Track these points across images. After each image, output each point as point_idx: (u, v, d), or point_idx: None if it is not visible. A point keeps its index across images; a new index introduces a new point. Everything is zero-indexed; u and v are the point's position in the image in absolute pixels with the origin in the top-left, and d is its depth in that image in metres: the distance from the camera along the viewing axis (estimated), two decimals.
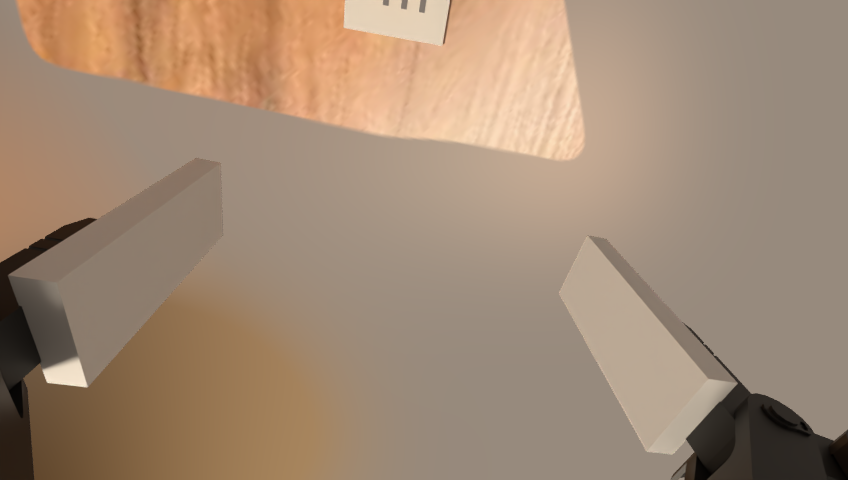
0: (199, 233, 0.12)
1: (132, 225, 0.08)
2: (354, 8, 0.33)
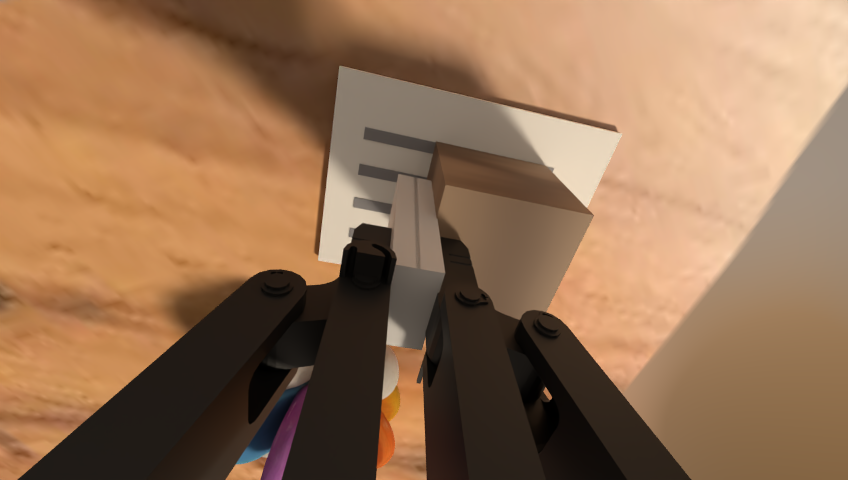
0: None
1: (417, 228, 0.11)
2: None
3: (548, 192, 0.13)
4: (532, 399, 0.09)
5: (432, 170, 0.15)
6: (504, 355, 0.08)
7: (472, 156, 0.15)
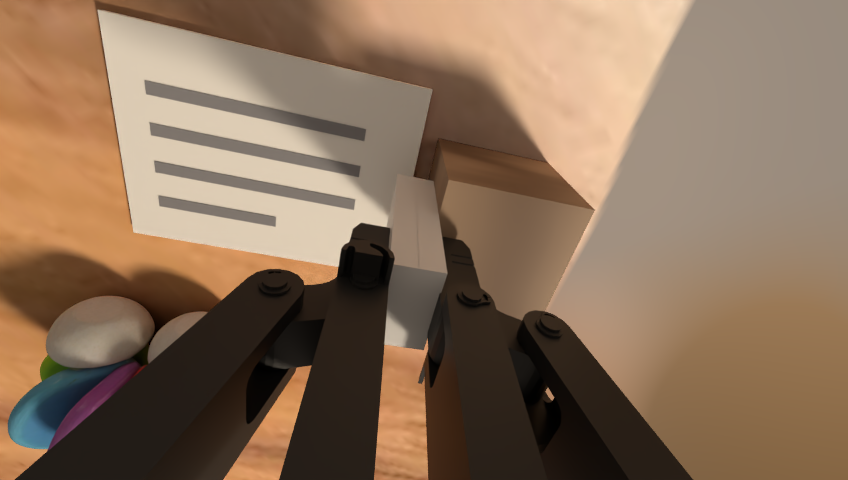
0: None
1: (416, 228, 0.11)
2: None
3: (549, 187, 0.14)
4: (534, 399, 0.09)
5: (435, 166, 0.16)
6: (506, 355, 0.08)
7: (474, 152, 0.15)
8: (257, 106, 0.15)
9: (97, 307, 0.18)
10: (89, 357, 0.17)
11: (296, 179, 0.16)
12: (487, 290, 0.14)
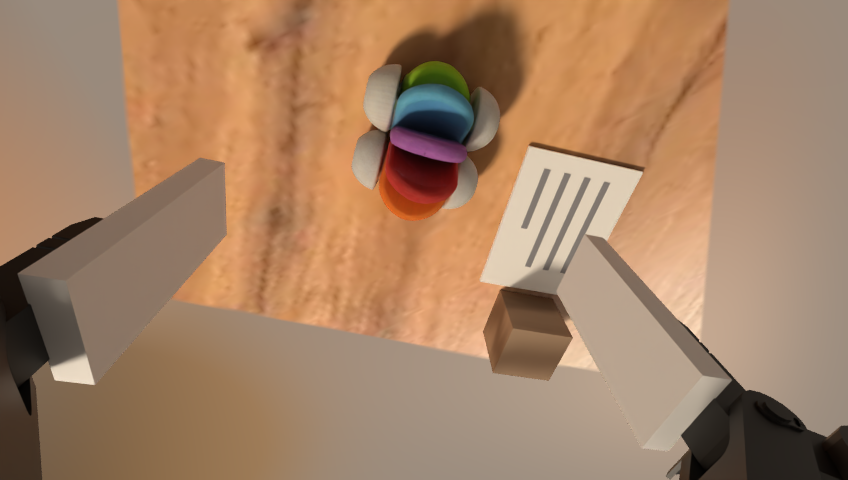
0: (203, 232, 0.12)
1: (138, 224, 0.08)
2: (495, 268, 0.32)
3: None
4: None
5: (547, 305, 0.33)
6: None
7: None
8: (586, 230, 0.30)
9: None
10: (479, 138, 0.23)
11: (546, 241, 0.31)
12: (515, 353, 0.31)
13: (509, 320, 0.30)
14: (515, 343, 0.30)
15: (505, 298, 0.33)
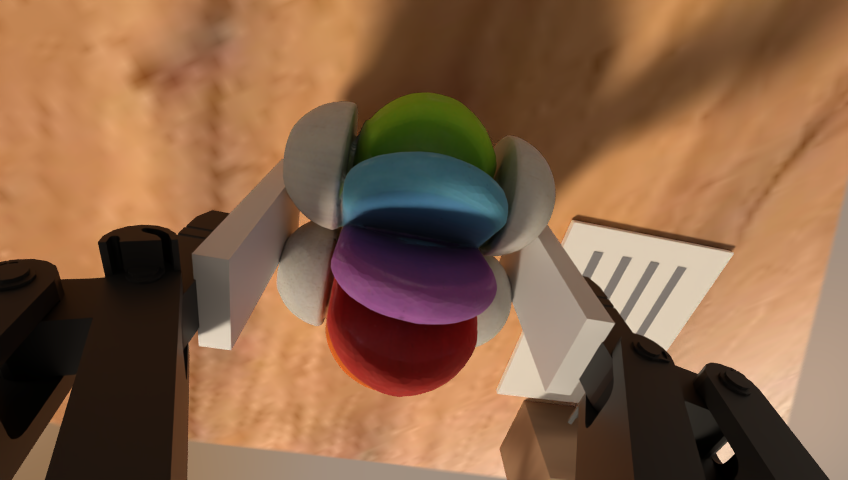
0: (288, 225, 0.13)
1: (260, 215, 0.10)
2: (518, 377, 0.23)
3: None
4: (703, 454, 0.09)
5: None
6: (684, 418, 0.07)
7: None
8: (647, 327, 0.22)
9: None
10: (518, 240, 0.12)
11: None
12: None
13: (543, 460, 0.21)
14: None
15: (532, 416, 0.24)
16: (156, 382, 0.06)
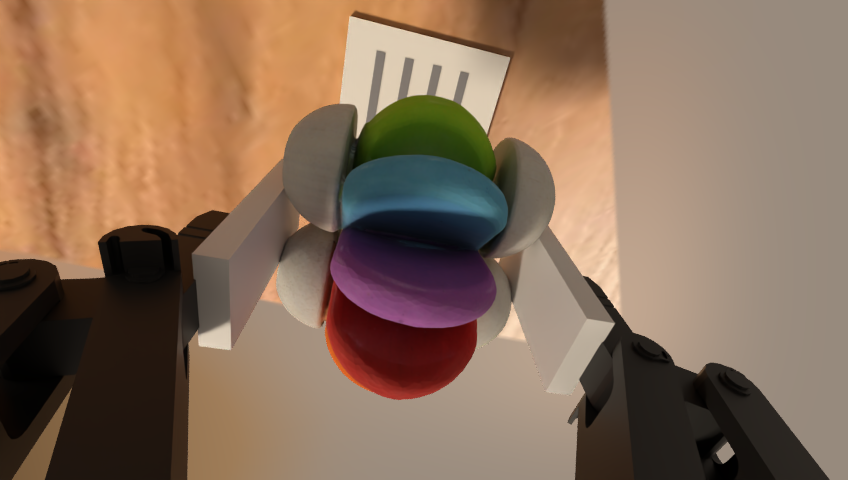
0: (288, 225, 0.13)
1: (260, 216, 0.10)
2: None
3: None
4: (702, 454, 0.09)
5: None
6: (684, 418, 0.07)
7: None
8: None
9: None
10: (518, 243, 0.12)
11: None
12: None
13: None
14: None
15: None
16: (156, 382, 0.06)
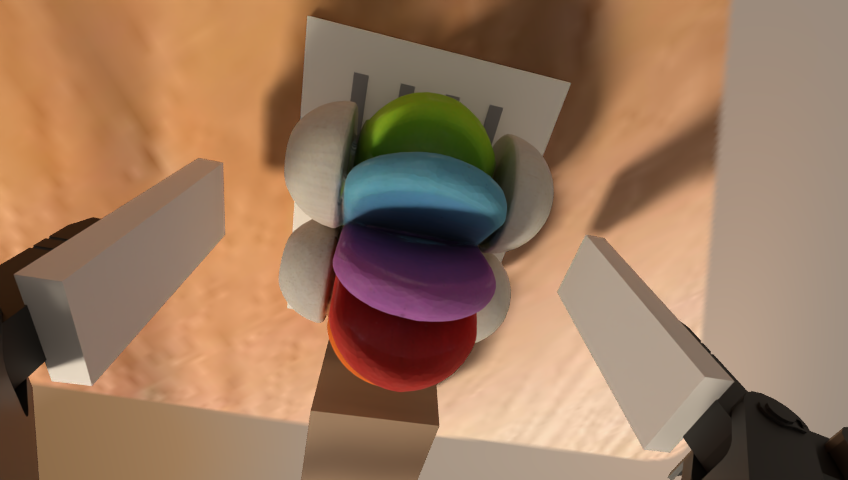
0: (201, 233, 0.12)
1: (136, 224, 0.08)
2: None
3: None
4: None
5: None
6: None
7: None
8: None
9: None
10: (517, 238, 0.12)
11: None
12: (332, 452, 0.16)
13: (316, 389, 0.15)
14: (326, 435, 0.15)
15: None
16: None
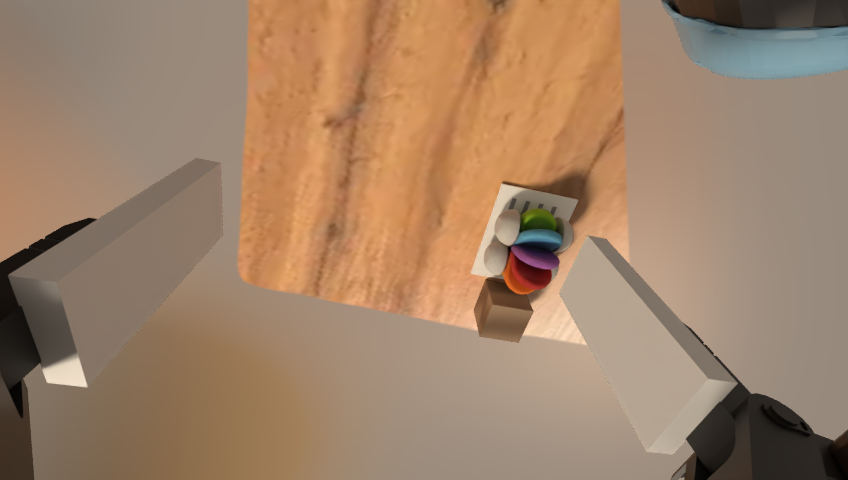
0: (199, 233, 0.12)
1: (132, 225, 0.08)
2: (481, 264, 0.46)
3: None
4: None
5: None
6: None
7: None
8: None
9: None
10: (563, 248, 0.41)
11: None
12: (495, 322, 0.45)
13: (491, 299, 0.44)
14: (494, 315, 0.44)
15: (488, 285, 0.47)
16: None
